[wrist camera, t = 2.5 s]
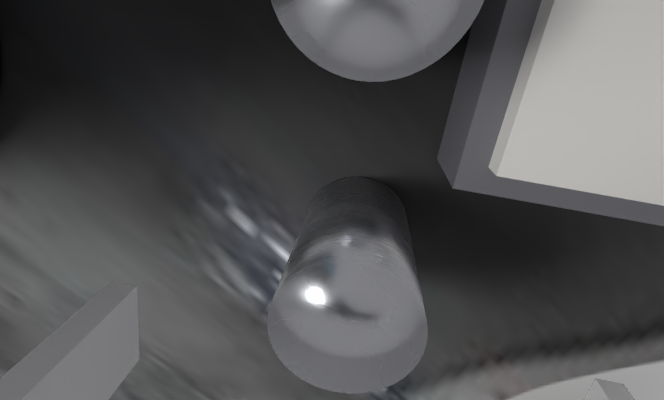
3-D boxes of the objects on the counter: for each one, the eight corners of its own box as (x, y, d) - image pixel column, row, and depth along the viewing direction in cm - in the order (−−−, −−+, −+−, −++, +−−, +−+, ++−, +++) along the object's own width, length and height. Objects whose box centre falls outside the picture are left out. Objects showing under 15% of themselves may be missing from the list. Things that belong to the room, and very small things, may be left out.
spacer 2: (301, 258, 21) (260, 376, 13) (314, 168, 19) (275, 248, 12) (395, 275, 21) (407, 406, 13) (418, 186, 19) (446, 280, 11)
